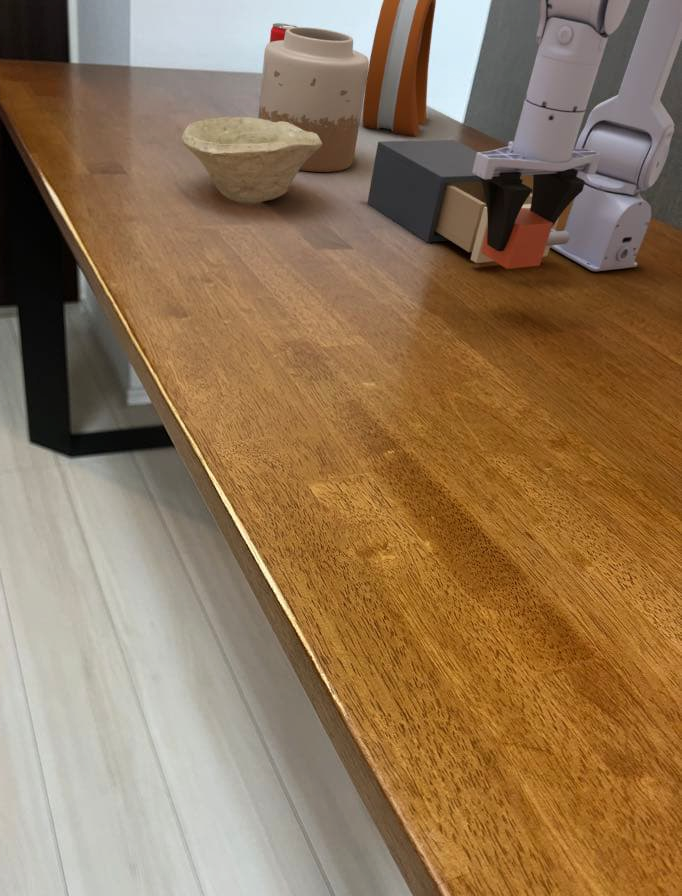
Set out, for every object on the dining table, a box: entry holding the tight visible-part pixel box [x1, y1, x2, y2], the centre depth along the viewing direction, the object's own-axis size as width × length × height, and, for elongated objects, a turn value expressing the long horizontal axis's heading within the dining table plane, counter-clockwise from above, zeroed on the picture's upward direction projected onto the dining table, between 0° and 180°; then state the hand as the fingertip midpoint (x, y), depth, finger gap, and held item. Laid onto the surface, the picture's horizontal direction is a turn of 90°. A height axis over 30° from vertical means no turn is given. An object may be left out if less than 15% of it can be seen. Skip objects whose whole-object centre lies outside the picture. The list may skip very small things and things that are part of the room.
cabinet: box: [367, 139, 482, 244], centre depth 114 cm, size 15×13×8 cm
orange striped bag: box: [362, 0, 437, 137], centre depth 149 cm, size 22×10×23 cm, turn 165°
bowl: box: [181, 116, 322, 205], centre depth 112 cm, size 14×18×15 cm
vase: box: [257, 26, 370, 173], centre depth 127 cm, size 15×15×17 cm
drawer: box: [435, 182, 569, 264], centre depth 106 cm, size 18×11×6 cm, turn 27°
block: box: [481, 208, 553, 270], centre depth 89 cm, size 4×4×4 cm
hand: (514, 245), depth 89 cm, fingers closed on block, 4 cm apart
